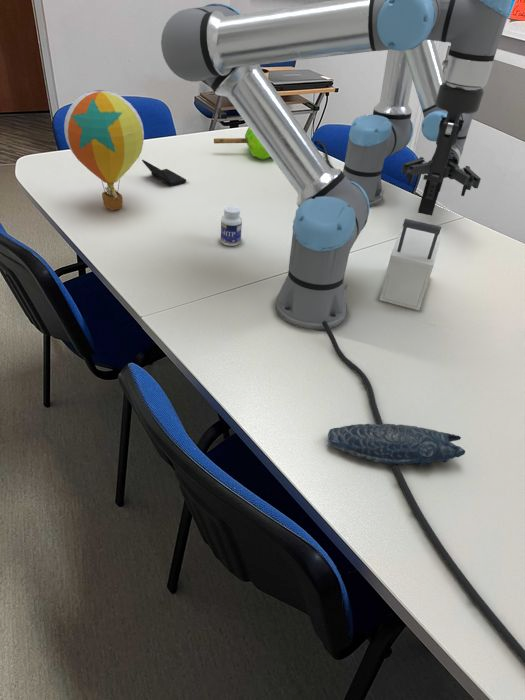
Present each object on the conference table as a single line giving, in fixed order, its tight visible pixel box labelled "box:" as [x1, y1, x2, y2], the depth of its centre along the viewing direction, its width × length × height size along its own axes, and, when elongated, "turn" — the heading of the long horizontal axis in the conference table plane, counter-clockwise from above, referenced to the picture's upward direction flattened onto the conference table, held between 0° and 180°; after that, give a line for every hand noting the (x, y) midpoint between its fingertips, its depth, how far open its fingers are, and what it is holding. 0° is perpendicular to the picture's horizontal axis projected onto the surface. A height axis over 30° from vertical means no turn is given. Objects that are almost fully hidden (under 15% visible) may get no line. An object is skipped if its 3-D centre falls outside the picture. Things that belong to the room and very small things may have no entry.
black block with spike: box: [141, 159, 187, 187], centre depth 162 cm, size 12×7×10 cm
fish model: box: [327, 423, 466, 466], centre depth 81 cm, size 7×21×5 cm, turn 84°
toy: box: [63, 89, 145, 212], centre depth 136 cm, size 20×20×30 cm
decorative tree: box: [213, 127, 271, 161], centre depth 186 cm, size 18×10×30 cm
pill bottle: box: [220, 205, 243, 247], centre depth 132 cm, size 5×5×9 cm
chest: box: [379, 258, 433, 311], centre depth 119 cm, size 16×9×11 cm, turn 159°
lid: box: [389, 218, 442, 270], centre depth 113 cm, size 16×9×8 cm, turn 159°
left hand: (429, 201), depth 104 cm, fingers open, 13 cm apart
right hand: (436, 185), depth 132 cm, fingers open, 13 cm apart
